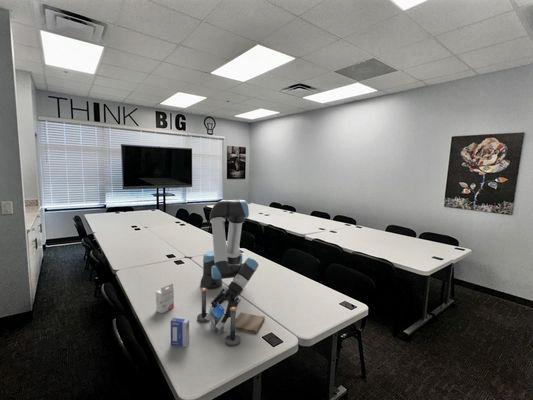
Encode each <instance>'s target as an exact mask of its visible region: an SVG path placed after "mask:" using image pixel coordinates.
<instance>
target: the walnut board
mask: <svg viewBox="0 0 533 400" xmlns="http://www.w3.org/2000/svg"><path fill="white" fill-rule="evenodd" d="M264 321H265V316H262V315H256V314H252V313H248V312H247V313H246V312H242V311H241V312H240V313H239V314H238V315H237V316H236V328H235V331H242V332H245V333H250V334H255V335H257V334H258V332H259V330H260V328H261V327H262V325H263V323H264Z"/></svg>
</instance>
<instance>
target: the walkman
mask: <svg viewBox="0 0 533 400" xmlns="http://www.w3.org/2000/svg"><path fill="white" fill-rule="evenodd" d="M189 344H190V319H187V318H177V317H173V318H172V319H171V320H170V345H171V346H177V347H185V348H187V347H188V346H189Z"/></svg>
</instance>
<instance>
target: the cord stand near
mask: <svg viewBox="0 0 533 400" xmlns="http://www.w3.org/2000/svg"><path fill="white" fill-rule="evenodd" d="M237 310H238V306H237V307H236V306H231V307H230V311H231V318H230V324H229V325H230V328H229V330H230V332H229V333H230V334H228V335H227V336H226V337H225V338H224V343H225V345H226V346H228V347H230V348H231V347H236V346H238V345H240V343H241V337H240V336H239V335H238V334H236V330H235V328H236V318H237Z"/></svg>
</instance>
